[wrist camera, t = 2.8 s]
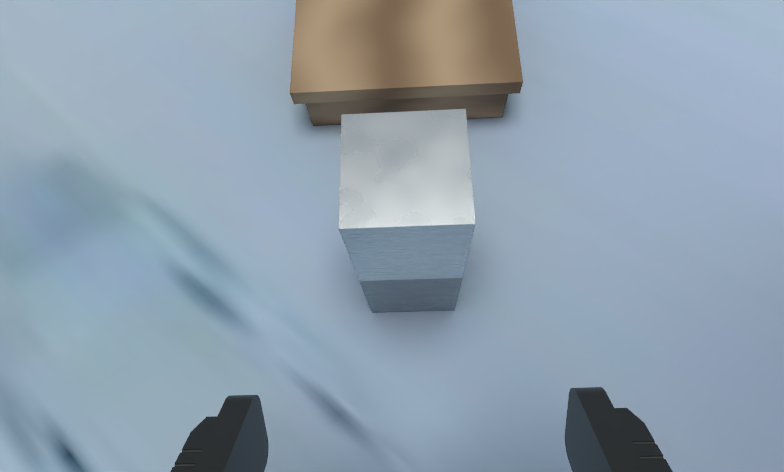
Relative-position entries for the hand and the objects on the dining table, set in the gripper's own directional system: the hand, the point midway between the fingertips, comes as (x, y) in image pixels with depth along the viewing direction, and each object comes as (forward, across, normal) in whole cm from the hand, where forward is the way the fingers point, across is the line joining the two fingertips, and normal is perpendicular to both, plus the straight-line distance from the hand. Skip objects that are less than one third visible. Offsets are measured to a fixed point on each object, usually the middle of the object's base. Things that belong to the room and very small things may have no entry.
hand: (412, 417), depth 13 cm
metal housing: (+15, 0, +4) cm, 16 cm away
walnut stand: (+27, 0, -8) cm, 28 cm away
